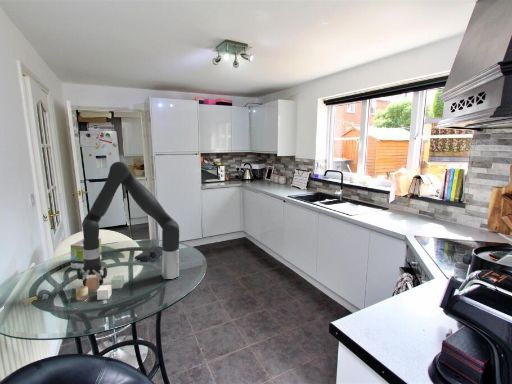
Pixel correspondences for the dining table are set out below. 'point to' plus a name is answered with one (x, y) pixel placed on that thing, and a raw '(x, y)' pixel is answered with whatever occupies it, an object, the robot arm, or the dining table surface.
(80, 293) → the maple cylinder
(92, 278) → the terracotta block
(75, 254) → the tea box
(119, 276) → the sage block
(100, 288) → the cream block
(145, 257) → the dark slate chunk
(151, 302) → the dining table surface
